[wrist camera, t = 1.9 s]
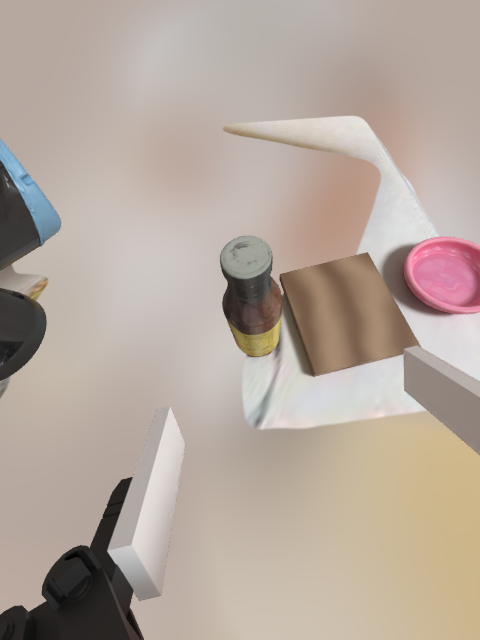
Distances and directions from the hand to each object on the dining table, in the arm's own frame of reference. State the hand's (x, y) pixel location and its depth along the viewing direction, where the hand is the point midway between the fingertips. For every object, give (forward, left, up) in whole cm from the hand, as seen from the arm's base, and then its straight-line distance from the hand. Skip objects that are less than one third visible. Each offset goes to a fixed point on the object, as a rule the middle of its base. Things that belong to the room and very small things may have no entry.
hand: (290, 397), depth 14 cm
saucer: (+29, +13, -21) cm, 38 cm away
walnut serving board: (+13, +12, -20) cm, 27 cm away
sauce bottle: (0, +11, -21) cm, 23 cm away
